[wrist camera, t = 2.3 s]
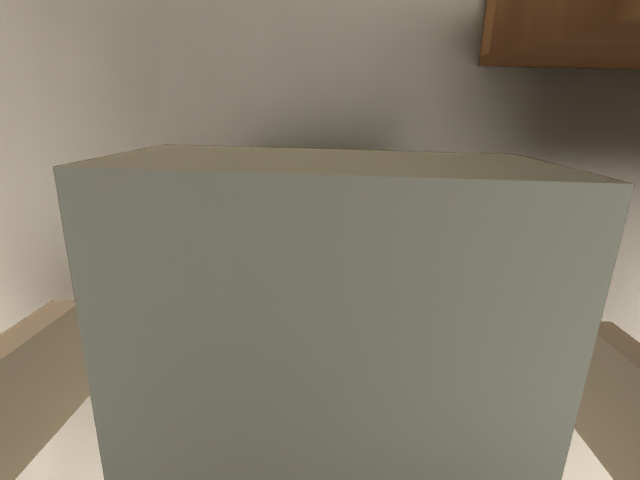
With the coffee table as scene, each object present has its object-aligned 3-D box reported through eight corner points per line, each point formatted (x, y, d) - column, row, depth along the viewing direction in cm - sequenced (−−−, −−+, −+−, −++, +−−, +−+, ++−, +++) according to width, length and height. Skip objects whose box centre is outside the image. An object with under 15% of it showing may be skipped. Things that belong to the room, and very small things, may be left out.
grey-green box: (241, 129, 13) (53, 167, 4) (436, 134, 13) (634, 183, 4) (248, 373, 16) (139, 694, 7) (411, 380, 15) (502, 720, 7)
